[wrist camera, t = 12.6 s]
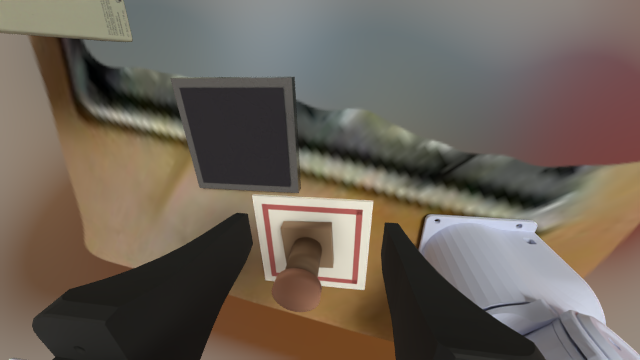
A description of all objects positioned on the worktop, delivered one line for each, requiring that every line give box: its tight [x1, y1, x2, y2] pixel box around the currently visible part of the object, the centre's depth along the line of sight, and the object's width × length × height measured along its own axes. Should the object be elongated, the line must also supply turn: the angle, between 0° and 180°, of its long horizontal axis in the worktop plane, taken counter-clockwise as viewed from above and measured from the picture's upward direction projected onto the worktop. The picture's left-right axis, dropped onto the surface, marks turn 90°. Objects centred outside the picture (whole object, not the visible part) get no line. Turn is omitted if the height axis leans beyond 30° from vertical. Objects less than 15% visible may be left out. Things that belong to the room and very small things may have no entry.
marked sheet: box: [252, 194, 373, 290], centre depth 26 cm, size 12×12×1 cm
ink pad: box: [171, 77, 301, 193], centre depth 21 cm, size 10×10×1 cm
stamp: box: [272, 221, 334, 312], centre depth 23 cm, size 5×5×7 cm
